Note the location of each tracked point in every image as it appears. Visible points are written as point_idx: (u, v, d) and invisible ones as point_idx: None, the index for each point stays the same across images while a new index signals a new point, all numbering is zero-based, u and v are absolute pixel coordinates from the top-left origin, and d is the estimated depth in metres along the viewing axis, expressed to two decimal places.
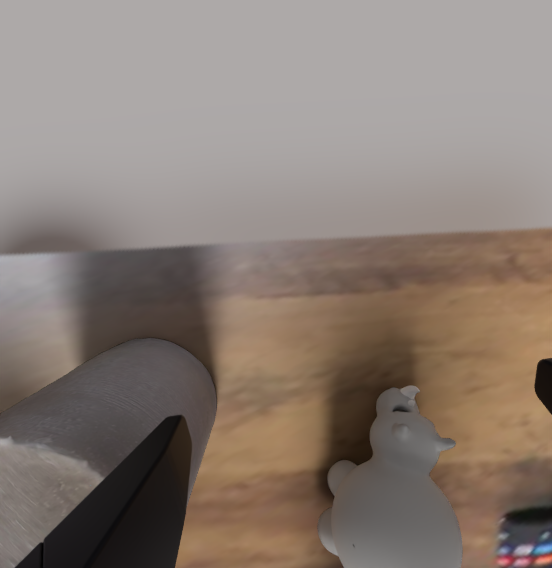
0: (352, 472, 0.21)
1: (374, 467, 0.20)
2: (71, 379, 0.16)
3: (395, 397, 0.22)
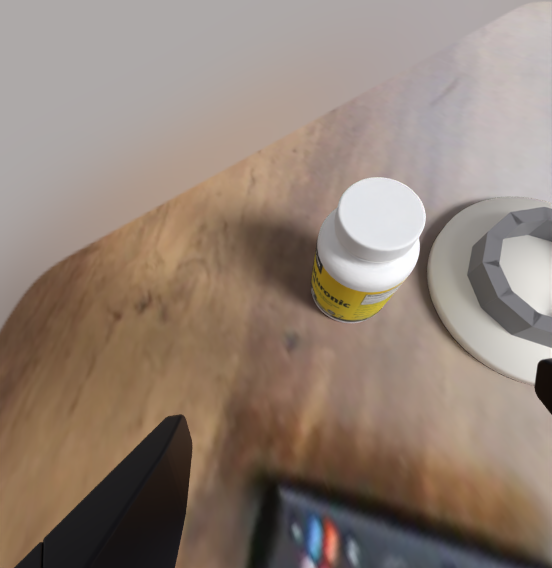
0: None
1: None
2: None
3: None
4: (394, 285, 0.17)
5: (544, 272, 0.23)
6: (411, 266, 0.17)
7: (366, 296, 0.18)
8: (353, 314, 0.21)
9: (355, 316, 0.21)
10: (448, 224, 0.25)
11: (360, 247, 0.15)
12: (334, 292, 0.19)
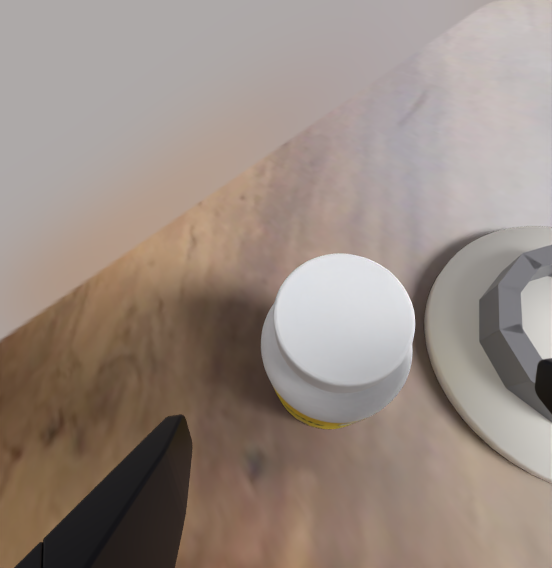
0: None
1: None
2: None
3: None
4: (382, 408, 0.11)
5: None
6: (403, 379, 0.11)
7: (342, 424, 0.12)
8: None
9: None
10: (442, 273, 0.19)
11: (314, 380, 0.09)
12: (297, 413, 0.13)
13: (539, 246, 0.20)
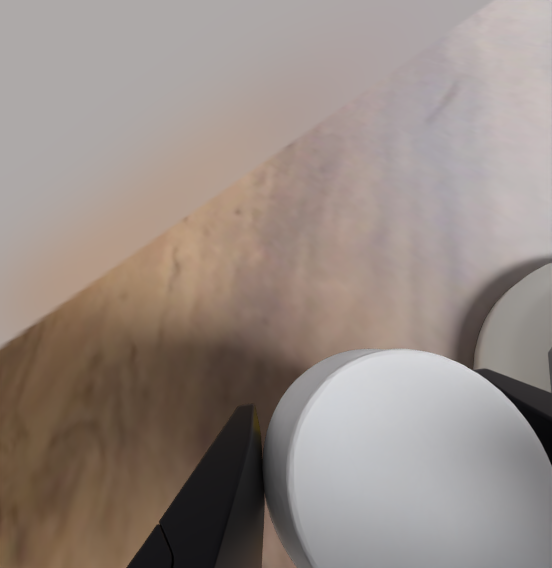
0: None
1: None
2: None
3: None
4: None
5: None
6: None
7: None
8: None
9: None
10: (497, 315, 0.15)
11: None
12: None
13: None
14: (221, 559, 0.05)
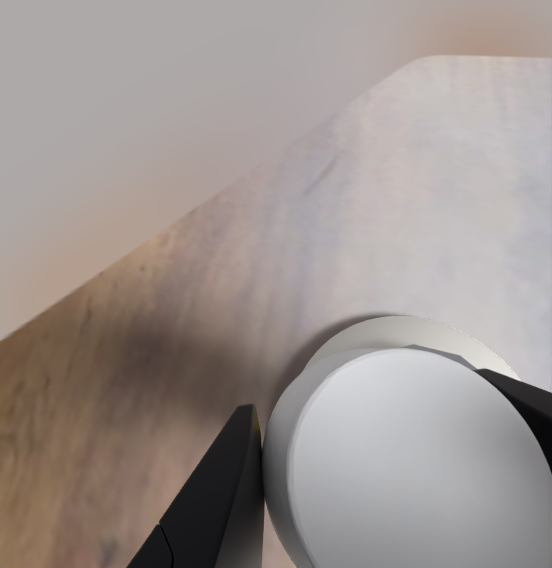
0: None
1: None
2: None
3: None
4: None
5: None
6: None
7: None
8: None
9: None
10: (308, 363, 0.20)
11: None
12: None
13: (404, 338, 0.20)
14: (221, 559, 0.05)
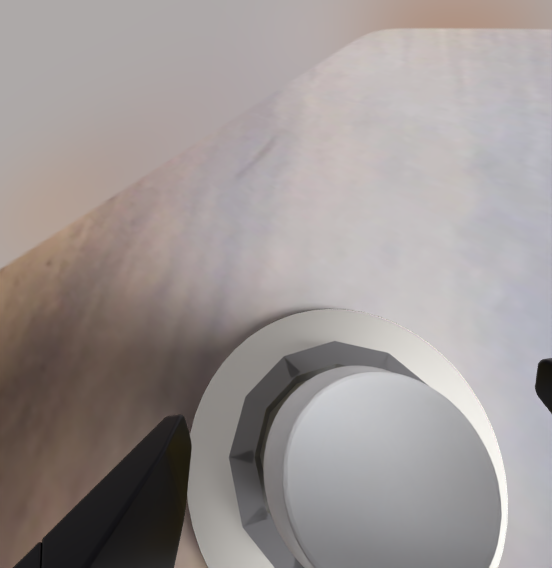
0: None
1: None
2: None
3: None
4: None
5: None
6: None
7: None
8: None
9: None
10: (221, 367, 0.17)
11: None
12: None
13: (334, 334, 0.17)
14: None
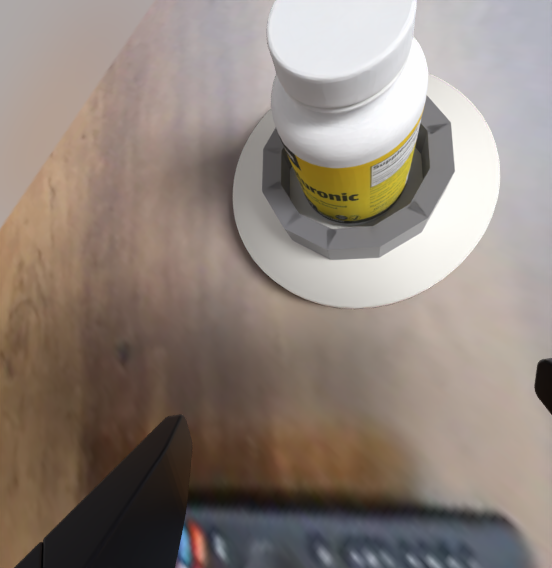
0: None
1: None
2: None
3: None
4: (406, 132, 0.11)
5: None
6: (421, 90, 0.10)
7: (371, 169, 0.12)
8: (369, 207, 0.15)
9: (374, 208, 0.15)
10: (242, 152, 0.20)
11: (324, 88, 0.09)
12: (328, 186, 0.13)
13: None
14: None
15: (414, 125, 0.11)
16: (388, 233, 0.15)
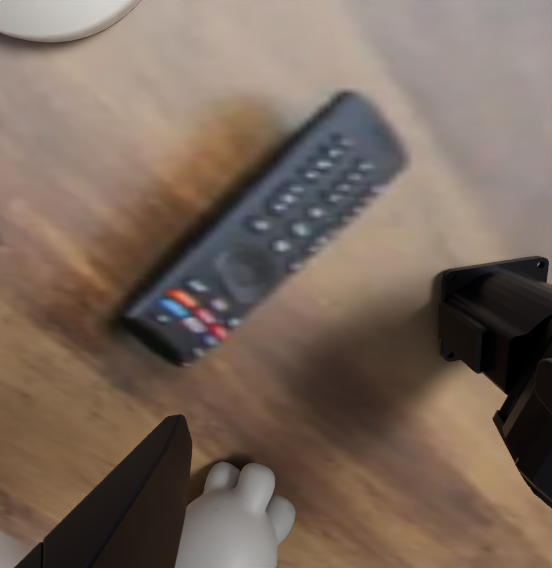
0: None
1: None
2: None
3: None
4: None
5: None
6: None
7: None
8: None
9: None
10: None
11: None
12: None
13: None
14: None
15: None
16: None
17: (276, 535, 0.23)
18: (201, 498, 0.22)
